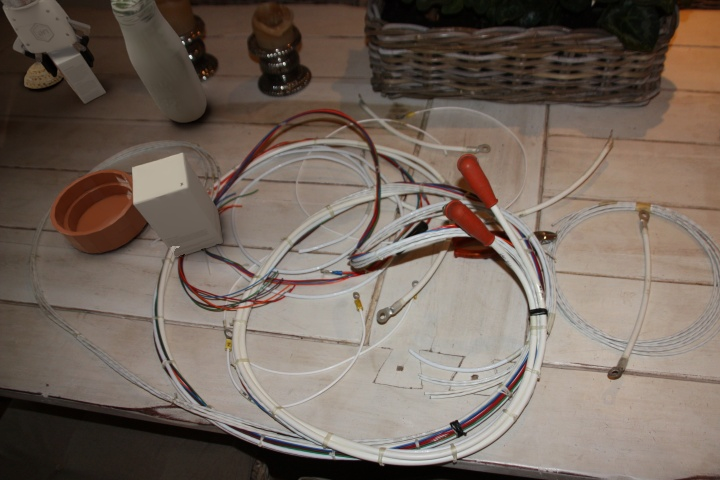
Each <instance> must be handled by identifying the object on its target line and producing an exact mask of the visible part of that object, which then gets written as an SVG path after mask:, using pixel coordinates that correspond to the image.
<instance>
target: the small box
mask: <svg viewBox="0 0 720 480" xmlns="http://www.w3.org/2000/svg"><path fill="white" fill-rule="evenodd" d="M45 54H47V55H48V56H49V57H50V59H51V60H52V62H53V63H54V64H55V66H56V67H57V69H58V70H59V71H60V73H61V74H62V75H63V78H64V80H65V81H66V82H67V84H68V85H69V86H70V88H71V89H72V91H73V92H74V93H75V94H76V96H77V97H78V98H79V99H80V100H81V102H82V103H83V105H86V104H88V103H90V102H92V101H94V100H95V99H97V98H99V97H101V96H103V95H105V94H106V93H107V92H106V90H105V89H104V87H103V86H102V83H101V82H100V81H99V79H98V77H97V76H96V75H95V73H94V71H93V70H92V69H91V68H90V67H89V66H88V64H87V63H86V61H85V60H84V58H83V57H82V55H81V54H80V51H78V50H77V49H76V47H75V46H73V45H70V46H67V47H63V48H59V49H55V50H52V51H48V52H45Z"/></svg>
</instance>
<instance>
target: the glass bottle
mask: <svg viewBox="0 0 720 480" xmlns="http://www.w3.org/2000/svg"><path fill="white" fill-rule="evenodd" d="M110 5H111V10H112V13H113V15H114V18H115V20H116V21H117V23H118V24H119V28H120V30H121V33H122V37H123V39H124V44H125V48H126V51H127V56H128V59H129V61H130V63H131V65H132V67H133V68H134V70H135V72H136V73H137V75H138V77H139V79H140V80H141V83H142V84H143V86H144V87H145V89H146V90H147V92H148V93H149V96H150V97H151V98H152V100H153V102H154V104H155V105H156V107H157V108H158V109H159V111H160V112H161V113H162V114H163V115H164V116H165V117H166V118H168V119H170V120H172V121H174V122H177V123H191V122H193V121H196V120H198V119H199V118H201V117H202V116H203V115H204V114H205V112H206V110H207V104H208V103H207V95H206V92H205V89H204V86H203V84H202V81H201V79H200V77H199V75H198V73H197V71H196V69H195V66H194V64H193V62H192V59H191V57H190V55H189V52H188V50H187V48H186V46H185V44H184V43H183V40H182V39H181V38H180V36H179V35H178V34H177V32H176V31H175V30H174V29H173V27H172V26H171V24H170V23H169V22H168V21H167V20H166V18H165V17H164V15H163V14H162V13H161V11H160V10H159V7H158V6H157V3H156V1H155V0H110Z"/></svg>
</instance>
